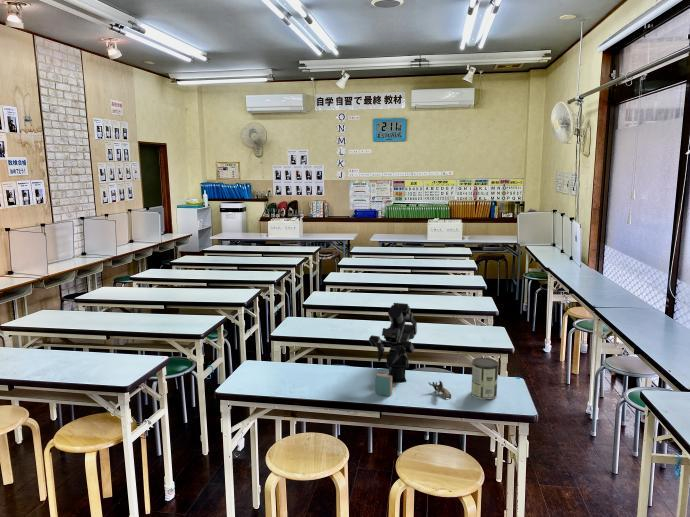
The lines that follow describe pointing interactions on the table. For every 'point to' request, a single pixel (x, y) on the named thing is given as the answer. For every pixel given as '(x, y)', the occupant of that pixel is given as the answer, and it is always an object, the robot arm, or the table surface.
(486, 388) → the coffee can
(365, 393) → the table surface
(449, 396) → the antlered deer figurine
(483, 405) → the table surface
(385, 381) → the glazed tile
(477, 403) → the table surface
